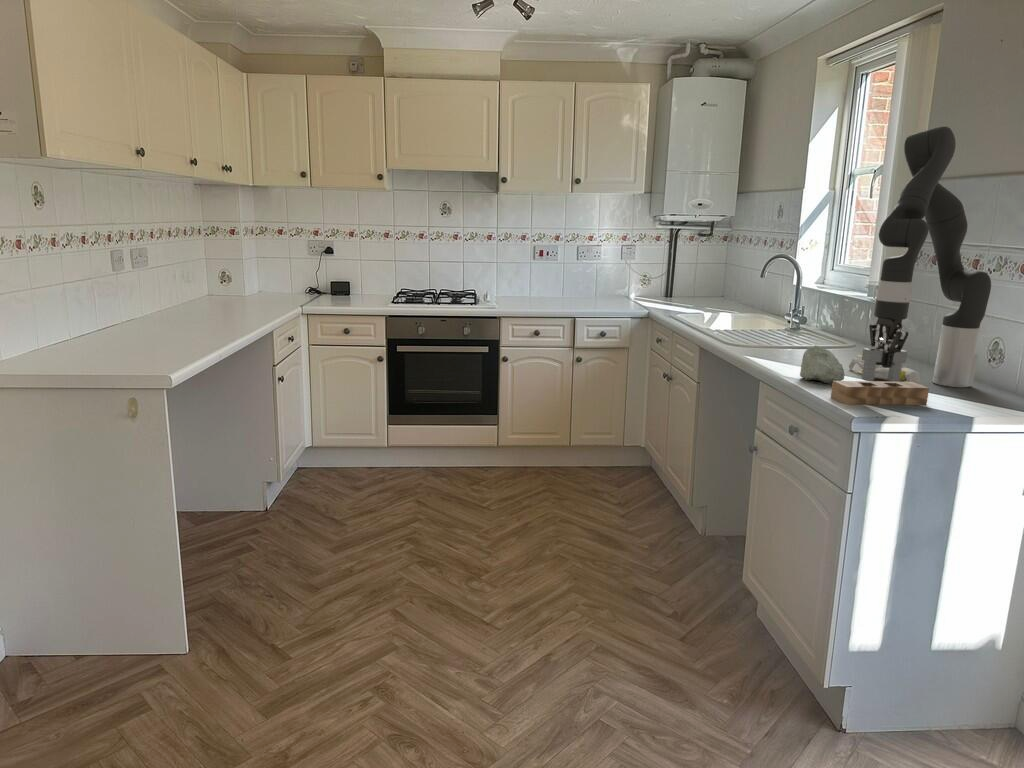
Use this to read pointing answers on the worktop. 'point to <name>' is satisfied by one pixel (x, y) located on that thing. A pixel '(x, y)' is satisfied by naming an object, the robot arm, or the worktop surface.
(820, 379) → the decorative stone
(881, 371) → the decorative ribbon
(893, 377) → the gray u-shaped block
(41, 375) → the worktop surface
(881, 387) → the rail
